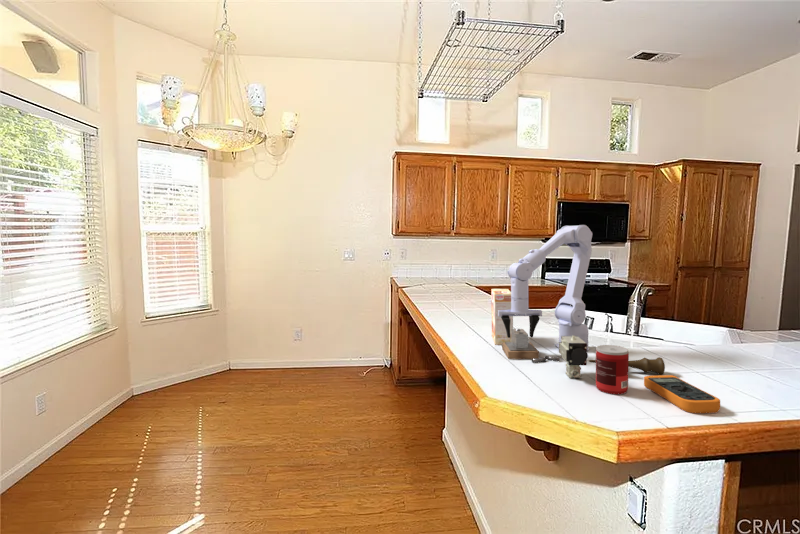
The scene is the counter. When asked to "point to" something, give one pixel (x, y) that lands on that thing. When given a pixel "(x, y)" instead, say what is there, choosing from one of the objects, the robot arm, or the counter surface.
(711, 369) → the counter surface
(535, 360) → the bolt
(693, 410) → the multimeter
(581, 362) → the pneumatic valve
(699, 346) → the counter surface
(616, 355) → the canned food
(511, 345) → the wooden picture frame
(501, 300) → the coffeecake box
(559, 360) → the bolt
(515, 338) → the block
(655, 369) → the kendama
